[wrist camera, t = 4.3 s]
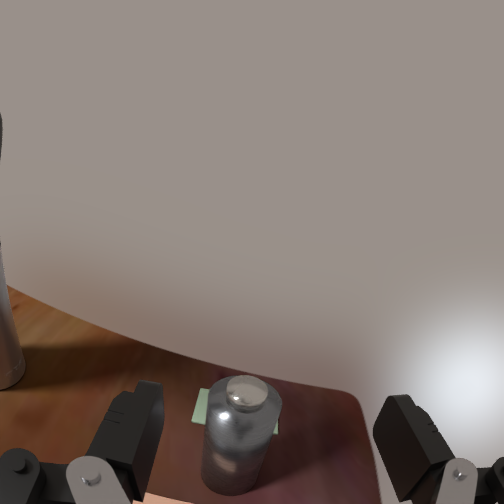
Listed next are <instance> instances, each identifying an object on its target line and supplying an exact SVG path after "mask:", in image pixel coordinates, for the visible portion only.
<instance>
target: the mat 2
mask: <svg viewBox="0 0 504 504" xmlns="http://www.w3.org/2000/svg"><path fill="white" fill-rule="evenodd" d="M208 393H209V389H203V388H201V389H200V392H199V396H198V399H197V403H196V407H195V410H194V414H193V418H192V422H193V423H198V424H204V425H205V421H206V411H207V401H208ZM273 434H278V421H277V424H276V427H275V429H274V432H273Z"/></svg>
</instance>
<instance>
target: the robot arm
mask: <svg viewBox="0 0 504 504" xmlns="http://www.w3.org/2000/svg"><path fill="white" fill-rule="evenodd" d="M1 146H2V118H1V114H0V157H1ZM25 368H26V364H25V359H24V356H23V353H22V350H21V346H20V343H19V339H18V335H17V331H16V327H15V323H14V319H13V315H12V311H11V306H10V301H9V296H8V291H7V286H6V280H5V274H4V268H3V261H2V253H1V243H0V390H1V389H6V388H8V387H10V386H12V385H14V384H15V383H17V382H18V381H19V380H20V379H21V377H22V376H23V374H24V372H25ZM163 425H164V401H163V386H162V384H161V383H156V382H151V381H146V380H140V381H139V382H138V384H137V386H136V389H135V391H134V393H132V392H127V391H123V392H122V393H120V394H119V395H118V396H117V397H115V398H114V399H113V401H112V403H111V405H110V407H109V409H108V412H106V414H105V416H104V420H103V421H102V422H101V424H100V426H99V429H98V431H97V433H96V435H95V437H94V439H93V441H92V443H91V445H90V447H89V449H88V451H87V453H86V454H85V456H83V457H79V458H77V459H75V460H73V461H72V462H71V463H70V464H53V463H44V462H39V461H38V459H37V458H36V456H35V455H34V454H33V453H31V452H30V451H28V450H25V449H21V448H15V449H11V450H8V451H6V452H5V453H4V454H3V455H2V456H1V457H0V504H133V500H135V501H139V502H143V500H144V496H145V492H146V489H147V485H148V481H149V477H150V474H151V470H152V466H153V463H154V459H155V455H156V452H157V448H158V444H159V441H160V437H161V434H162V430H163ZM373 438H374V441H375V443H376V445H377V448H378V450H379V453H380V455H381V458H382V460H383V462H384V465H385V467H386V470H387V472H388V475H389V477H390V480H391V482H392V485H393V487H394V490H395V492H396V495H397V498H398V500H399V502H403V501H407V500H412V503H413V504H495V503H496V502H498V504H504V457H501V458H499V459H498V460H497V461H496V462H495V463H494V464H493V466H492V467H489V468H476V467H475V466H474V464H473V463H471V462H470V461H468V460H466V459H463V458H455V456H454V455H453V453H452V451H451V450H450V448H449V446H448V445H447V443H446V441H445V440H444V438H443V437H442V435H441V433H440V432H438V429H437V427H436V425H434V422H433V421H432V420H431V418H430V416H429V415H428V413H427V412H425V411H424V410H423V409H422V408H420V407H419V406H416V405H415V404H414V402H413V400H412V399H411V397H410V396H409V395H407V394H406V395H393V396H388V397H387V399H386V401H385V403H384V405H383V407H382V409H381V411H380V413H379V415H378V417H377V419H376V421H375V424H374V427H373Z"/></svg>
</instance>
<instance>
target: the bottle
mask: <svg viewBox="0 0 504 504" xmlns="http://www.w3.org/2000/svg"><path fill="white" fill-rule="evenodd" d="M281 408H282V400H281V397H280V395H279V394H278V392H277V391H276V390H275V389H274V388H273V387H272V386H271V385H269V384H268V383H266V382H264V381H262V380H260V379H258V378H256V377H253V376H248V375H240V376H230V377H226V378H223V379H221V380H219V381H217V382H216V383H215V384H213V386H212V387H211V388H210V390H209V393H208V401H207V411H206V421H205V432H204V442H203V454H202V465H201V477H202V480H203V482H204V483H205V485H206V486H207V487H208V488H209V489H211V490H212V491H214V492H216V493H218V494H221V495H225V496H236V495H241V494H243V493H245V492H247V491H249V490H250V489H251V488H252V487H253V485H254V484H255V481H256V479H257V476H258V474H259V471H260V468H261V466H262V463H263V460H264V458H265V455H266V452H267V449H268V447H269V444H270V441H271V438H272V435H273V432H274V429H275V427H276V424H277V421H278V418H279V415H280V412H281Z"/></svg>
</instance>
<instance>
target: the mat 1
mask: <svg viewBox="0 0 504 504" xmlns="http://www.w3.org/2000/svg"><path fill="white" fill-rule="evenodd" d="M133 504H192V503H187V502H182V501H178V500H173V499H169V498H165V497H161V496H157V495H153V494H150V493H146V492H145V496H144V500H143V502H139V501H135V500H133Z"/></svg>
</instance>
